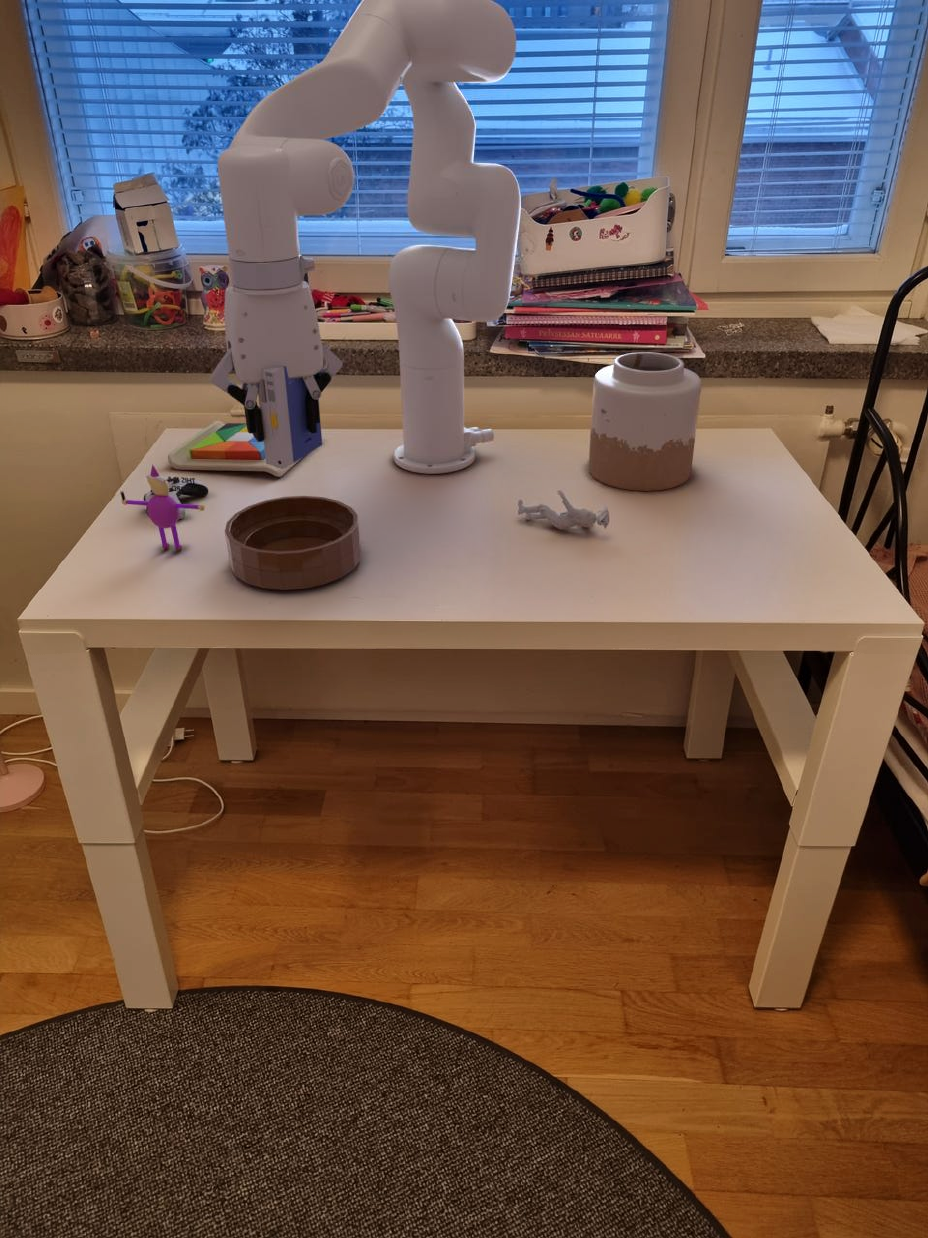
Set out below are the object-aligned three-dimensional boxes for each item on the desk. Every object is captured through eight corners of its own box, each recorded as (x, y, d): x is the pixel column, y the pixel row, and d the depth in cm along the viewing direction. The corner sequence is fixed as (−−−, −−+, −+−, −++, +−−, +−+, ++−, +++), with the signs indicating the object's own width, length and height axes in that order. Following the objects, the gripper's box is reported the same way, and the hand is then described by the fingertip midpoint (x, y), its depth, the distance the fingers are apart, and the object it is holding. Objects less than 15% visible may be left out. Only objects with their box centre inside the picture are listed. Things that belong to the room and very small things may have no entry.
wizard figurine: (216, 549, 126) (202, 462, 119) (206, 560, 123) (191, 472, 117) (136, 542, 128) (118, 456, 121) (124, 553, 125) (105, 466, 119)
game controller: (184, 515, 132) (150, 485, 131) (163, 538, 135) (129, 508, 133) (213, 487, 140) (181, 458, 139) (193, 509, 143) (161, 481, 141)
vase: (672, 499, 137) (685, 384, 128) (572, 480, 143) (578, 368, 135) (703, 462, 149) (716, 354, 140) (609, 446, 155) (617, 341, 146)
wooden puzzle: (220, 430, 163) (217, 409, 161) (323, 440, 159) (321, 419, 157) (166, 469, 149) (162, 447, 147) (278, 481, 144) (275, 459, 143)
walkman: (304, 440, 119) (295, 344, 112) (322, 445, 118) (314, 348, 111) (263, 464, 113) (252, 364, 107) (282, 469, 112) (272, 369, 106)
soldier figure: (535, 515, 135) (617, 502, 130) (535, 548, 134) (618, 535, 129) (512, 494, 129) (598, 478, 123) (512, 528, 127) (598, 513, 122)
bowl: (338, 524, 131) (334, 487, 129) (378, 576, 119) (376, 536, 116) (219, 548, 126) (212, 509, 123) (248, 605, 113) (242, 564, 110)
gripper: (332, 260, 110) (344, 413, 119) (179, 274, 104) (204, 435, 113) (353, 272, 104) (364, 432, 114) (193, 289, 98) (218, 456, 108)
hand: (284, 432), depth 113 cm, fingers closed on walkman, 5 cm apart
